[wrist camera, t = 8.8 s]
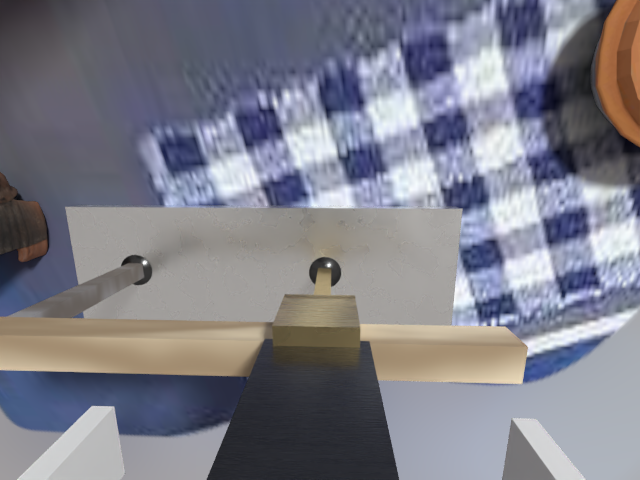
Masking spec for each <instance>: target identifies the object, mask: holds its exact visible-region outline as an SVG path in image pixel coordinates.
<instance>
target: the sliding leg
mask: <svg viewBox="0 0 640 480" xmlns="http://www.w3.org/2000/svg"><path fill="white" fill-rule="evenodd" d="M272 337H273V339H265V340H264V342H263V344H262V347H261V349H260V352H259V354H258V356H257V359H256V361H255V364H254V366H253V369H252V371H251V373H250V376H249V378H248V381H247V383H246V386H245V388H244V390H243V393H242V395H241V398H240V400H239V402H238V405H237V407H236V410H235V412H234V415H233V417H232V419H231V422H230V424H229V427H228V429H227V432H226V434H225V437H224V439H223V441H222V444H221V446H220V448H219V451H218V453H217V456H216V459H215V461H214V463H213V466H212V468H211V470H210V473H209V475H208V478H207V480H399V477H398V472H397V467H396V463H395V458H394V454H393V449H392V444H391V440H390V435H389V430H388V425H387V421H386V416H385V412H384V407H383V402H382V397H381V393H380V388H379V383H378V379H377V374H376V369H375V365H374V360H373V355H372V351H371V346H370V341H360V322H359V316H358V310H357V305H356V299H355V295H331V268H318V271H317V278H316V284H315V290H314V295H309V294H285V295H284V297H283V300H282V302H281V305H280V307H279V310H278V312H277V315H276V317H275V320H274V322H273V325H272Z"/></svg>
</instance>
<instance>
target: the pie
mask: <svg viewBox="0 0 640 480" xmlns="http://www.w3.org/2000/svg"><path fill="white" fill-rule="evenodd" d="M591 90H592V93H593V96H594V99H595V103H596V106H597V107H598V108H599V110H600V111H601V112H602V114H603V115H604V116H605V118H606V119H607V120H608V121H609V122H610V123H611V124H613V125H614V126H615V128H616V129H617V131H618V132H619V133H620V135H622V136H623V137H625V138H626V139H628V140H629V141H631V142H632V143H634V144H635V145H637V146H638V147H640V0H616V2H615V4H614V6H613V8H612V9H611V11H610V13H609V15H608V17H607V18H606V20H605V22H604V25H603V29H602V34H601V37H600V39H599V41H598V43H597V46H596V49H595V53H594V56H593V60H592V64H591Z"/></svg>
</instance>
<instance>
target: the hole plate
mask: <svg viewBox="0 0 640 480" xmlns="http://www.w3.org/2000/svg"><path fill="white" fill-rule="evenodd" d="M65 208H66V214H67V220H68V226H69V231H70V237H71V243H72V249H73V255H74V261H75V267H76V272H77V278H78V284H79V285H80V284H82V283H84V282H87V281H89V280H91V279H94V278H96V277H98V276H100V275H103V274H105V273H107V272H109V271H112V270H114V269H116V268H118V267H121V266H123V265H125V264H127V263H143V271H144V278H142V279H141V280H139V281H137V282H135V283H133V284H132V285H130V286H128V287H126V288H124V289H123V290H121V291H119V292H117V293H115V294H114V295H112V296H110V297H108V298H106V299H105V300H103V301H101V302H99V303H97V304H96V305H94V306H92V307H90V308H88V309H86V310H85V311H83V313H84V318H86V319H137V320H187V321H238V322H274V320H275V317H276V315H277V312H278V310H279V307H280V305H281V302H282V300H283V297H284V295H285V294H309V295H314V290H315V284H316V278H317V271H318V268H331V295H355V299H356V305H357V310H358V316H359V322H360V324H391V325H442V326H451V323H452V312H453V302H454V291H455V281H456V270H457V260H458V249H459V239H460V228H461V218H462V209H461V208H457V207H454V206H229V205H77V206H70V207H65Z"/></svg>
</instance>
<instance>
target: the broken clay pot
mask: <svg viewBox="0 0 640 480" xmlns="http://www.w3.org/2000/svg"><path fill="white" fill-rule="evenodd" d="M17 194H18V191H17V189H15V188H14V187H12V186H10V185H9V183H8V181H7V179H6V177H5V176H4V175H3V174H2V173H1V172H0V255H1V254H4V253H6V252H10V251H13V250H15V249H17V250H18V256H19V257H18V260H19V261H21V262H26V261H29V260H32V259H34V258H37V257H39V256H42V255H45V254H46V252H47V247H48V244H47V226H46V222H45V218H44V214H43V212H42V210H41V208H40V206H39V204H38V202H36V201H23V200H14V198H15V197H16V195H17Z"/></svg>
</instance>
